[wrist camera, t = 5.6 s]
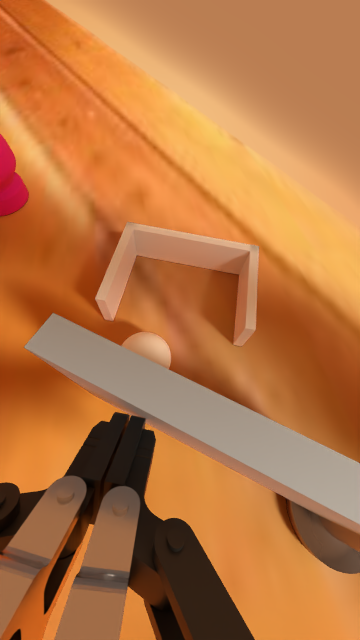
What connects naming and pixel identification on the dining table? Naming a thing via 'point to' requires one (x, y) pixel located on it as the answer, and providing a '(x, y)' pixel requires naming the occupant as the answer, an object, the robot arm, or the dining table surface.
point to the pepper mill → (10, 182)
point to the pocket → (185, 252)
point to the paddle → (209, 424)
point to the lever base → (322, 540)
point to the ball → (149, 347)
